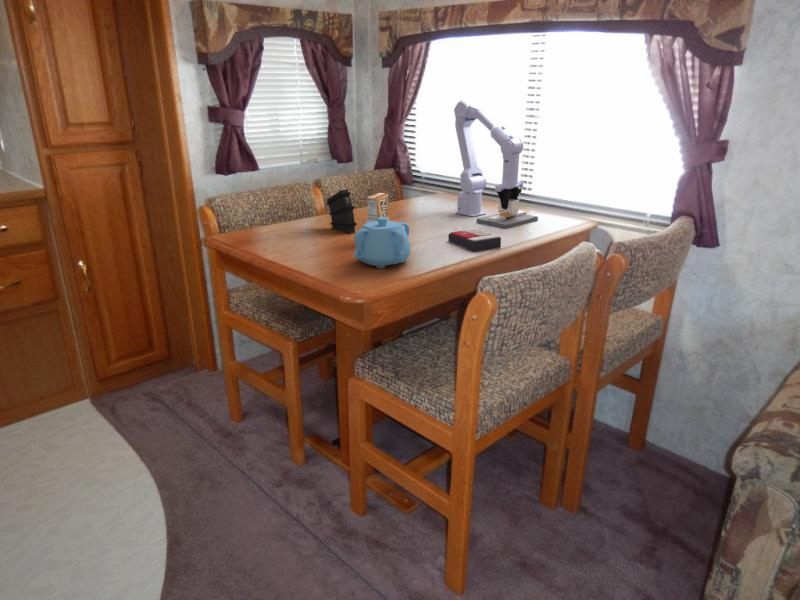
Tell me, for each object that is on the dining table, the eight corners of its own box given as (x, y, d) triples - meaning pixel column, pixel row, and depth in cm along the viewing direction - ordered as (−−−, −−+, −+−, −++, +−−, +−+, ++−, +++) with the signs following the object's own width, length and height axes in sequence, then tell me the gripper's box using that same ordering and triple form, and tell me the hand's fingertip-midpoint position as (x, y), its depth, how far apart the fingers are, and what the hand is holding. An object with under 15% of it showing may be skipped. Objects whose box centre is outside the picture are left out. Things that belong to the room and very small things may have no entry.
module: (498, 211, 219) (498, 198, 217) (504, 210, 222) (505, 197, 220) (511, 214, 215) (512, 201, 213) (518, 213, 217) (519, 199, 215)
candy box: (378, 236, 199) (378, 192, 194) (389, 237, 198) (389, 193, 192) (367, 242, 192) (366, 196, 186) (378, 243, 190) (377, 197, 185)
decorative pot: (366, 253, 179) (364, 210, 175) (415, 256, 176) (415, 213, 171) (348, 268, 165) (346, 222, 160) (402, 272, 161) (401, 225, 156)
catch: (499, 216, 218) (499, 213, 217) (509, 213, 221) (509, 210, 221) (505, 217, 216) (506, 214, 215) (515, 215, 219) (515, 211, 219)
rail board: (476, 222, 218) (476, 215, 217) (508, 214, 230) (509, 208, 229) (505, 228, 208) (506, 221, 207) (537, 220, 221) (538, 213, 220)
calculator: (474, 227, 196) (501, 235, 184) (474, 240, 198) (501, 248, 185) (447, 231, 191) (473, 239, 179) (447, 244, 193) (473, 252, 180)
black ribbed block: (352, 231, 199) (340, 190, 199) (334, 240, 210) (323, 201, 210) (361, 229, 201) (349, 188, 201) (343, 238, 212) (331, 200, 212)
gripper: (506, 175, 205) (504, 212, 210) (530, 171, 214) (528, 206, 219) (491, 173, 210) (489, 209, 215) (515, 169, 219) (513, 204, 224)
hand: (508, 208), depth 217 cm, fingers closed on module, 4 cm apart
